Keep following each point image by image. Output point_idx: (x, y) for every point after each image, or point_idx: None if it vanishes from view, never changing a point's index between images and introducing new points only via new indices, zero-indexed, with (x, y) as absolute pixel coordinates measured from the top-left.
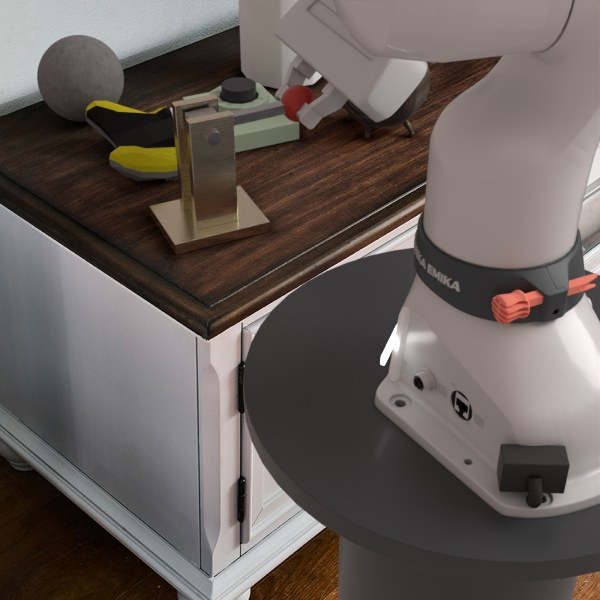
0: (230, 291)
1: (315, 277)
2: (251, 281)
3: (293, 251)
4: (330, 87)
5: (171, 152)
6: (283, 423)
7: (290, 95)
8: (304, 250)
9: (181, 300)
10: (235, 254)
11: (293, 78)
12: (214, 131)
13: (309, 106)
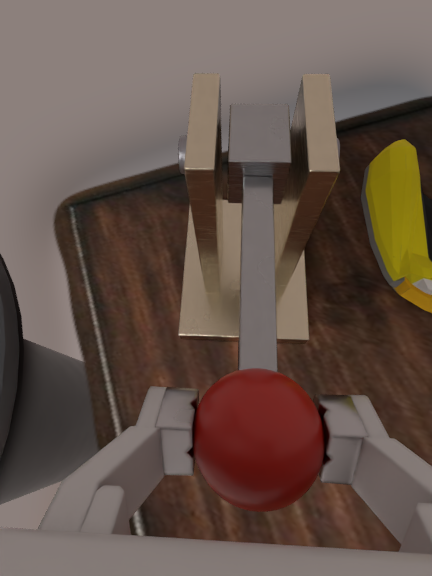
0: (83, 236)
1: (2, 324)
2: (86, 265)
3: (115, 346)
4: (68, 527)
5: (412, 244)
6: None
7: (241, 388)
8: (108, 362)
9: (101, 185)
10: (153, 272)
11: (392, 481)
12: (181, 143)
13: (148, 423)
